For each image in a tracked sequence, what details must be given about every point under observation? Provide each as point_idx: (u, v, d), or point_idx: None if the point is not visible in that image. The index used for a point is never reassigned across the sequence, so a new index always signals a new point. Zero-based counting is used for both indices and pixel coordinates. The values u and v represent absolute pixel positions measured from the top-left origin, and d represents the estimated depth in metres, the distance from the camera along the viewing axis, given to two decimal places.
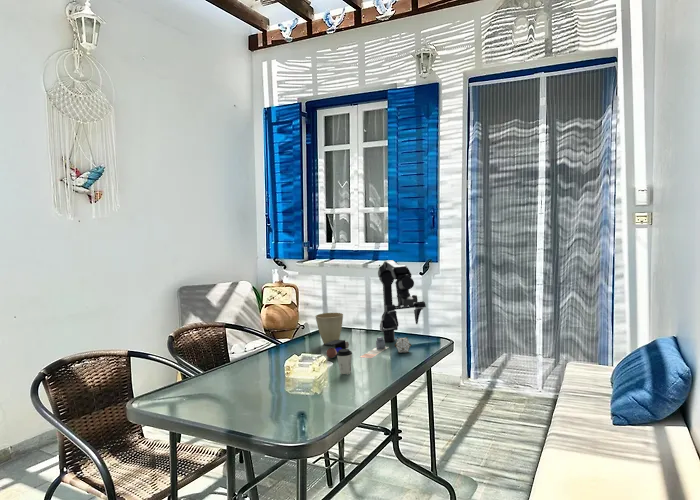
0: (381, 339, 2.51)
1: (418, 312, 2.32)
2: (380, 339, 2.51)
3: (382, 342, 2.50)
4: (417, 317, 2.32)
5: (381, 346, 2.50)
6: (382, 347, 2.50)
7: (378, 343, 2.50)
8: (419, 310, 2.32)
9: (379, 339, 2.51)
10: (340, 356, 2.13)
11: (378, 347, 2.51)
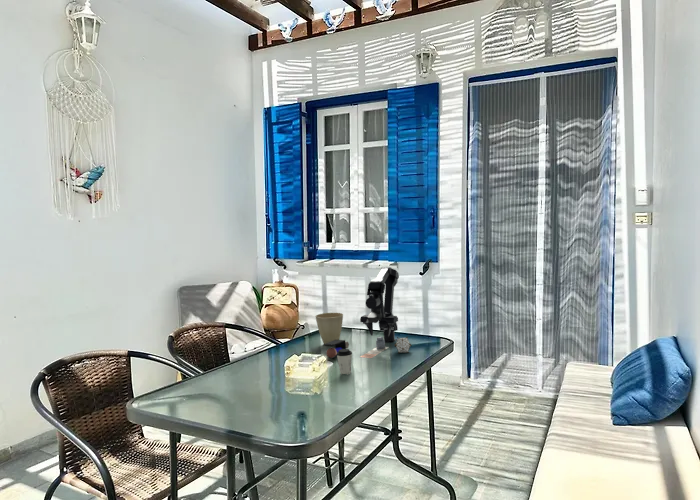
0: (381, 339, 2.51)
1: (388, 326, 2.48)
2: (380, 339, 2.51)
3: (382, 342, 2.50)
4: (387, 330, 2.49)
5: (381, 346, 2.50)
6: (382, 347, 2.50)
7: (378, 343, 2.50)
8: (388, 325, 2.47)
9: (379, 339, 2.51)
10: (340, 356, 2.13)
11: (378, 347, 2.51)
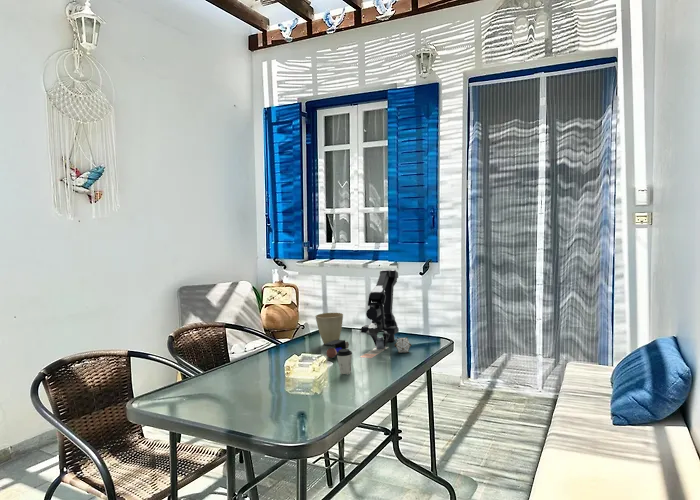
0: (381, 339, 2.51)
1: (384, 337, 2.49)
2: (380, 339, 2.51)
3: (382, 342, 2.50)
4: (384, 341, 2.50)
5: (381, 346, 2.50)
6: (382, 347, 2.50)
7: (378, 343, 2.50)
8: (384, 335, 2.48)
9: (379, 339, 2.51)
10: (340, 356, 2.13)
11: (378, 347, 2.51)
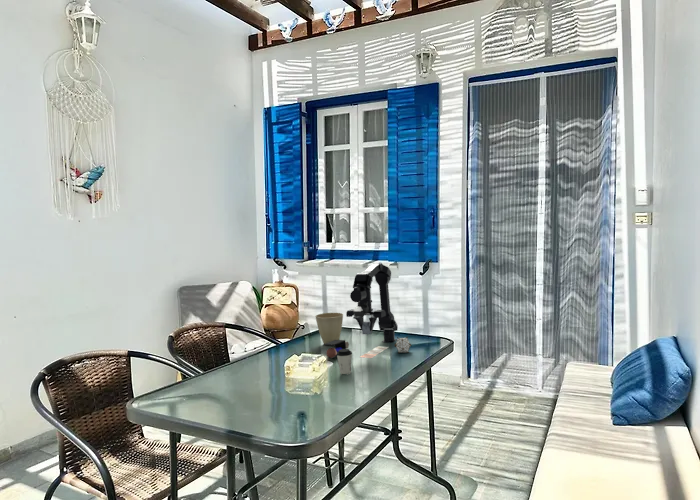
0: (367, 323, 2.38)
1: (371, 321, 2.36)
2: (366, 323, 2.38)
3: (368, 326, 2.38)
4: (370, 325, 2.37)
5: (367, 331, 2.37)
6: (368, 332, 2.38)
7: (364, 327, 2.38)
8: (371, 319, 2.35)
9: (365, 323, 2.38)
10: (340, 356, 2.13)
11: (364, 332, 2.38)
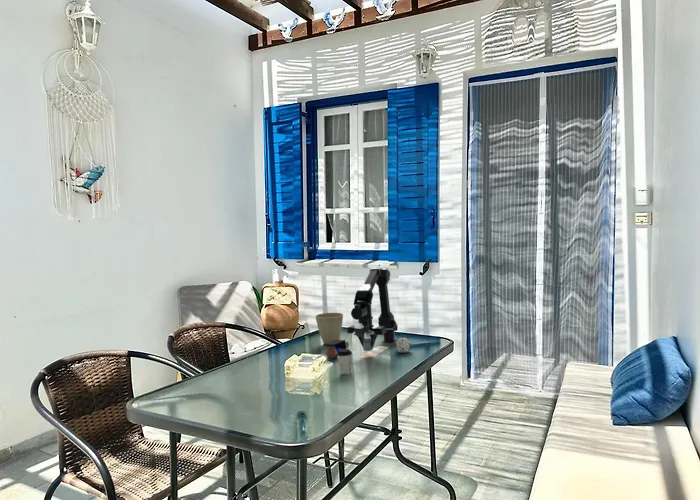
0: (368, 340, 2.38)
1: (372, 337, 2.37)
2: (367, 340, 2.38)
3: (369, 343, 2.38)
4: (371, 342, 2.38)
5: (368, 348, 2.38)
6: (369, 348, 2.38)
7: (365, 344, 2.38)
8: (372, 336, 2.36)
9: (366, 340, 2.38)
10: (340, 356, 2.13)
11: (365, 348, 2.38)
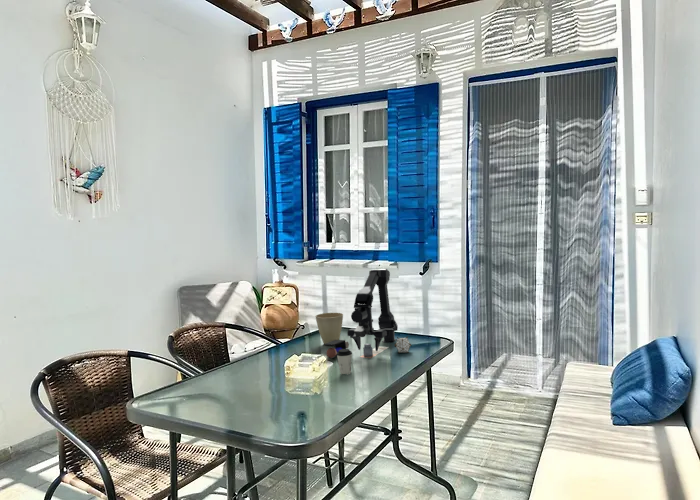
0: (368, 346, 2.38)
1: (376, 341, 2.36)
2: (367, 346, 2.38)
3: (369, 349, 2.38)
4: (376, 345, 2.36)
5: (368, 354, 2.38)
6: (369, 354, 2.38)
7: (365, 350, 2.38)
8: (376, 339, 2.35)
9: (366, 346, 2.38)
10: (340, 356, 2.13)
11: (365, 354, 2.38)
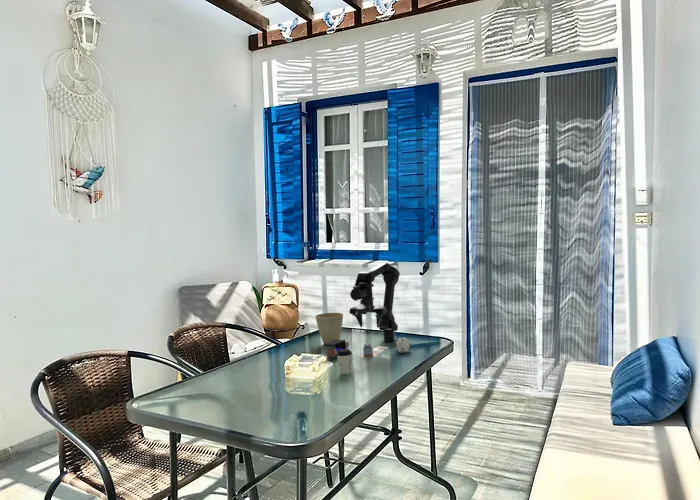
0: (368, 346, 2.38)
1: (377, 318, 2.47)
2: (367, 346, 2.38)
3: (369, 349, 2.38)
4: (377, 322, 2.48)
5: (368, 354, 2.38)
6: (369, 354, 2.38)
7: (365, 350, 2.38)
8: (377, 316, 2.46)
9: (366, 346, 2.38)
10: (340, 356, 2.13)
11: (365, 354, 2.38)
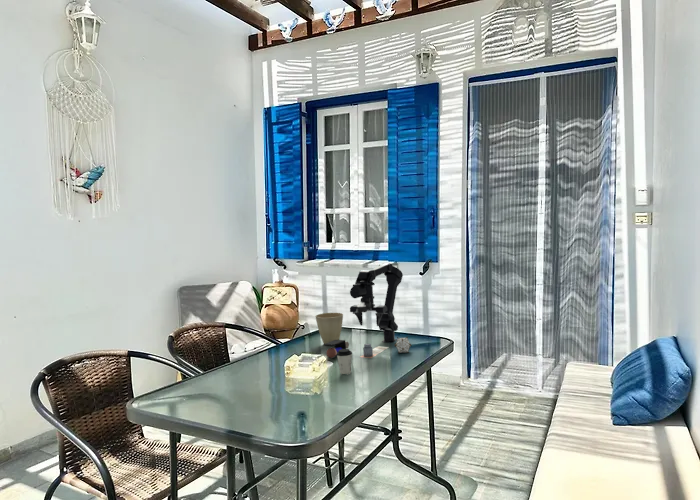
0: (368, 346, 2.38)
1: (377, 316, 2.49)
2: (367, 346, 2.38)
3: (369, 349, 2.38)
4: (377, 320, 2.50)
5: (368, 354, 2.38)
6: (369, 354, 2.38)
7: (365, 350, 2.38)
8: (377, 315, 2.48)
9: (366, 346, 2.38)
10: (340, 356, 2.13)
11: (365, 354, 2.38)
